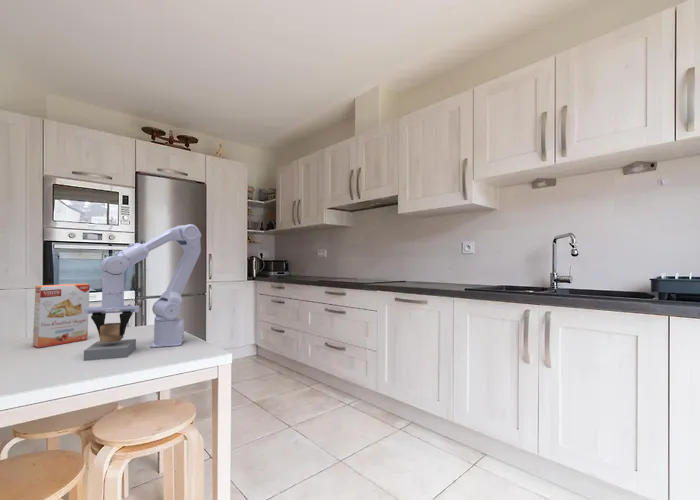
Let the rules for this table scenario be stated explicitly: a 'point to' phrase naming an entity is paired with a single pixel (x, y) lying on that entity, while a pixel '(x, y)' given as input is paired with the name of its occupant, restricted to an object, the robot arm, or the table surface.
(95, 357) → the gray block
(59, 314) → the cracker box
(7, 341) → the table surface
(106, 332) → the walnut cube
